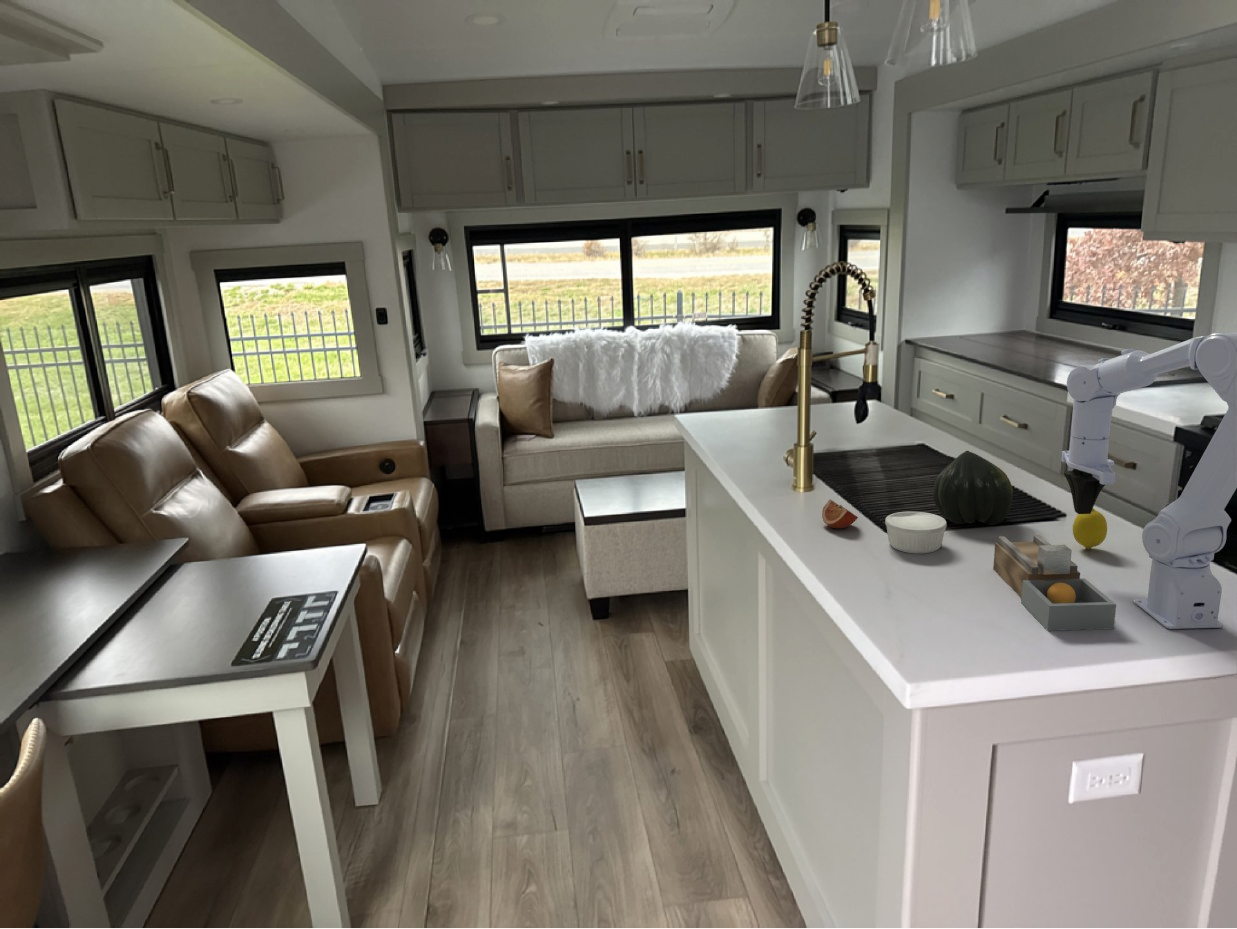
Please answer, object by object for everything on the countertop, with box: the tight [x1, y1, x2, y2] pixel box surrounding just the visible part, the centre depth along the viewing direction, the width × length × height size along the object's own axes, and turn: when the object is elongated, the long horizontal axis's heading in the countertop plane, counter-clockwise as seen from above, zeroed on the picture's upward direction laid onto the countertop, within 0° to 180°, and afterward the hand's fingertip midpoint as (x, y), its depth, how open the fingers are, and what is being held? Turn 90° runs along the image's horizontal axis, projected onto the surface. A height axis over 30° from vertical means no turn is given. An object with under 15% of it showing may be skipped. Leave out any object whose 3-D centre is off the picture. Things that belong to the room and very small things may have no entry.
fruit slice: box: [821, 499, 859, 529], centre depth 172 cm, size 8×7×5 cm
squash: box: [932, 450, 1014, 526], centre depth 170 cm, size 14×15×15 cm
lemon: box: [1072, 508, 1108, 550], centre depth 152 cm, size 6×6×8 cm
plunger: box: [1037, 544, 1073, 575], centre depth 131 cm, size 2×4×4 cm, turn 87°
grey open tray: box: [1020, 577, 1117, 631], centre depth 128 cm, size 10×10×4 cm
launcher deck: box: [992, 534, 1081, 598], centre depth 139 cm, size 14×8×6 cm, turn 177°
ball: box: [1047, 583, 1076, 604], centre depth 130 cm, size 4×4×4 cm
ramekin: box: [884, 511, 947, 555], centre depth 159 cm, size 11×11×5 cm
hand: (1082, 512), depth 142 cm, fingers closed
